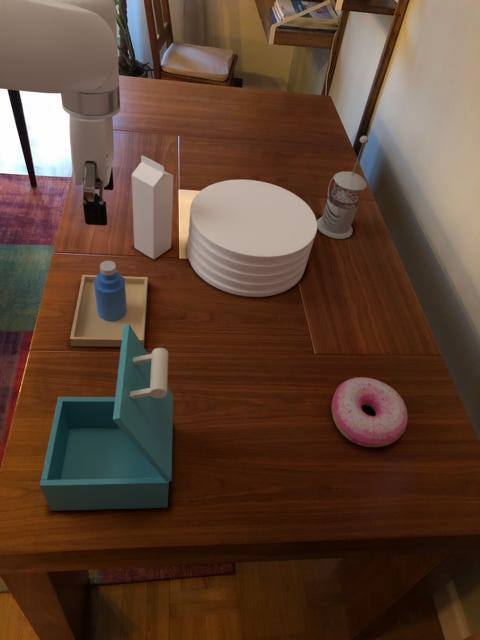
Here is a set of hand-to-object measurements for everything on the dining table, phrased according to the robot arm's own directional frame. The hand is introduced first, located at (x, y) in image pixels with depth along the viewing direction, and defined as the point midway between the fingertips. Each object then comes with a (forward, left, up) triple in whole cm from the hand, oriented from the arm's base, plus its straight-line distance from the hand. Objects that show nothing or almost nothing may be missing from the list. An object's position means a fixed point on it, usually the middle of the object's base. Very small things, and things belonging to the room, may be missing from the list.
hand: (100, 205), depth 76 cm
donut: (+30, -43, -26) cm, 58 cm away
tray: (0, 0, -26) cm, 26 cm away
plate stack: (+35, +4, -26) cm, 44 cm away
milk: (+16, +15, -26) cm, 34 cm away
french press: (+63, +5, -26) cm, 69 cm away
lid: (-7, -32, -8) cm, 34 cm away
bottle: (0, 0, -25) cm, 25 cm away
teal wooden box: (-12, -30, -26) cm, 41 cm away
